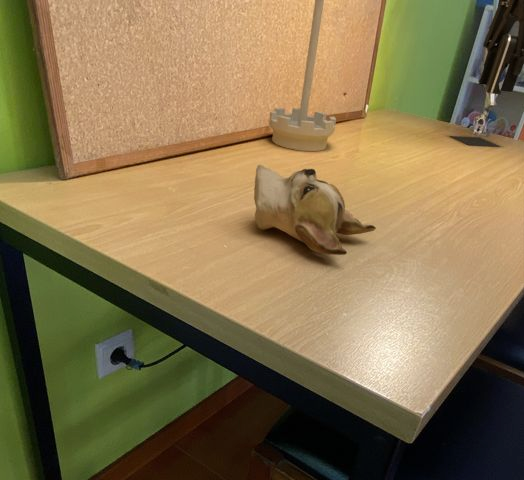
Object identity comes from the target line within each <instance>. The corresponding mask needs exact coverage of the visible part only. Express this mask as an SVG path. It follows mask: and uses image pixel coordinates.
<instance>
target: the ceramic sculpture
mask: <svg viewBox="0 0 524 480" xmlns="http://www.w3.org/2000/svg"><path fill="white" fill-rule="evenodd" d="M253 192H254V193H253V200H254V205H255V212H254V221H255V223H256V226H257V227H258V229H260V230H268V229H272V228H276V229H278V230H280V231H282V232H285V233H286V234H288V235H289V236H290V237H292V238H294V239H296V240H297V241H300V242H302V243H303V244H305V245H306V247H308V248H309V249H310V250H311V251H312V252H314V253H317V254H322V255H334V256H336V255H337V256H345V255H347V253H348V252H347V250H346V249H345V248H344V247H343V245H342V244H341V242H340V238H339V236H338V235H337V234H340V235H344V236H354V235H361V234H365V233H370V232H374V231H375V230H376V229H377V227H376V226H375V225H373V224H363V223H362V222H361V221H360V220H359V219H357V218H355V217H354V215H353V214H352V213H351V212H350V211H348V210H346V204H345V200H344V196H343V195H342V193H341V192H340V190H339V189H338V187H336V186H335V185H334V184H332V183H328V182H327V181H325V180H320V179H318V175H317V172H316V170H315V169H314V168H303V169H301V170H296V171H294V172H293V173H292V174H291V175H290V176H289V177H283V176H282V175H281V174H280V173H279V172H277V171H274V170H272V169H271V168H267V167H265V166H264V165H262V164H258V165H257V167H256V169H255V178H254V187H253Z"/></svg>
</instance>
